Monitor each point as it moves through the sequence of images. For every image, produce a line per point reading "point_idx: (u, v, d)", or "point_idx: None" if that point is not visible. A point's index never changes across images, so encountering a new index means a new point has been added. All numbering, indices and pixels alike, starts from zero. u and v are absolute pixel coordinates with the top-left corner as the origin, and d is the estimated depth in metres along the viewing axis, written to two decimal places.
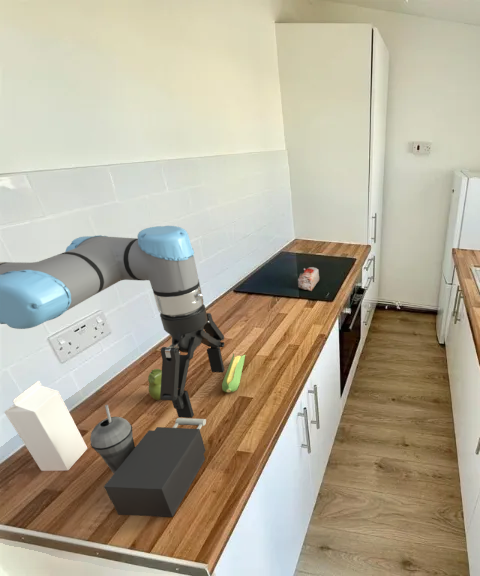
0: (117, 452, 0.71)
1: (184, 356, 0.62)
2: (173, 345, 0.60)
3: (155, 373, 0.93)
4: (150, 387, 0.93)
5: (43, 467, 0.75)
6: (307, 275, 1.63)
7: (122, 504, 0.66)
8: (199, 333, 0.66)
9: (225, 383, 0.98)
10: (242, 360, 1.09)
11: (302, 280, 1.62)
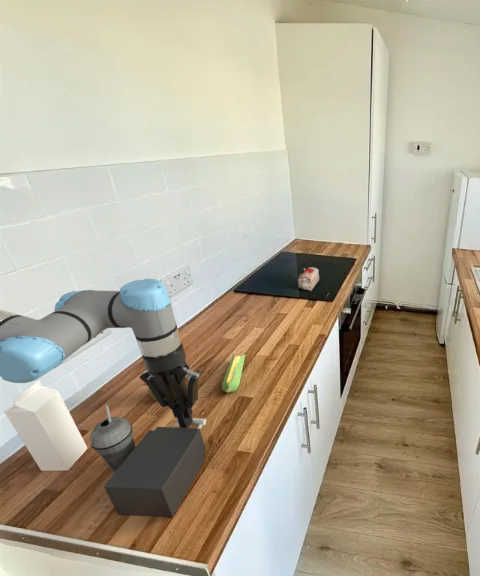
0: (117, 452, 0.71)
1: (183, 380, 0.76)
2: (192, 372, 0.74)
3: None
4: None
5: (43, 467, 0.75)
6: (307, 275, 1.63)
7: (122, 504, 0.66)
8: None
9: (225, 383, 0.98)
10: (242, 360, 1.09)
11: (302, 280, 1.62)
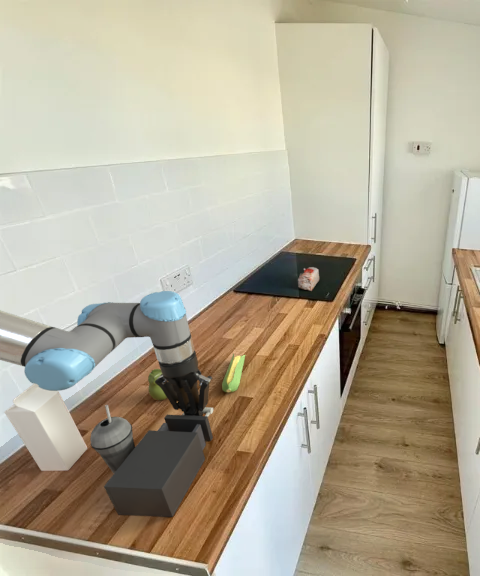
0: (117, 452, 0.71)
1: (195, 385, 0.81)
2: (204, 377, 0.79)
3: (155, 373, 0.93)
4: (150, 387, 0.93)
5: (43, 467, 0.75)
6: (307, 275, 1.63)
7: (122, 504, 0.66)
8: None
9: (225, 383, 0.98)
10: (242, 360, 1.09)
11: (302, 280, 1.62)
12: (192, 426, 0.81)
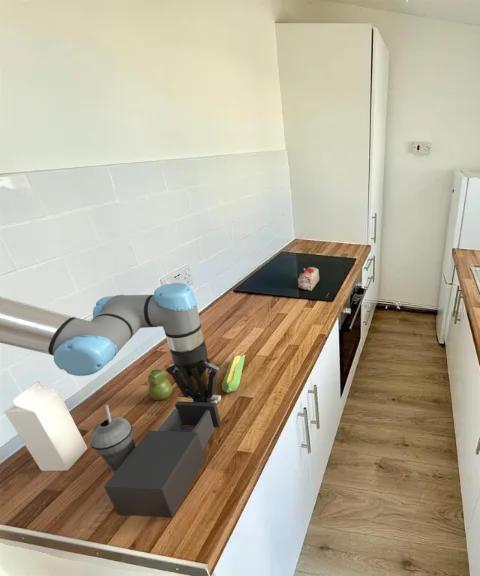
0: (117, 452, 0.71)
1: (204, 373, 0.85)
2: (213, 365, 0.83)
3: (155, 373, 0.93)
4: (150, 387, 0.93)
5: (43, 467, 0.75)
6: (307, 275, 1.63)
7: (122, 504, 0.66)
8: None
9: (225, 383, 0.98)
10: (242, 360, 1.09)
11: (302, 280, 1.62)
12: (202, 413, 0.85)
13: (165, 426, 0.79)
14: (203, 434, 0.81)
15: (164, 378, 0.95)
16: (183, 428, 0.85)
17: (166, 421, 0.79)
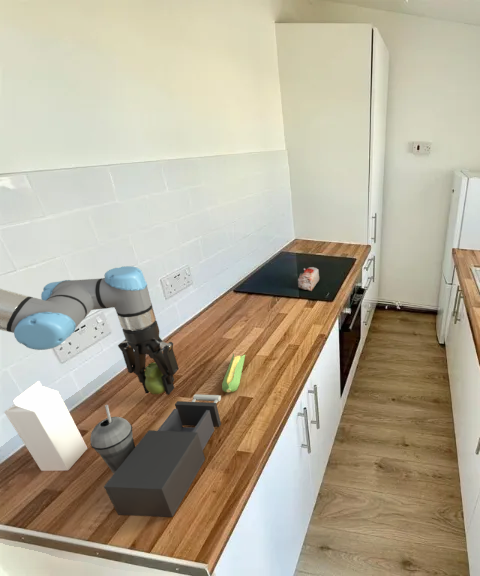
0: (117, 452, 0.71)
1: (160, 351, 0.91)
2: (164, 343, 0.89)
3: (151, 367, 0.91)
4: (147, 381, 0.91)
5: (43, 467, 0.75)
6: (307, 275, 1.63)
7: (122, 504, 0.66)
8: None
9: (225, 383, 0.98)
10: (242, 360, 1.09)
11: (302, 280, 1.62)
12: (202, 412, 0.85)
13: (165, 426, 0.79)
14: (203, 434, 0.81)
15: (161, 372, 0.93)
16: (183, 428, 0.85)
17: (166, 421, 0.79)
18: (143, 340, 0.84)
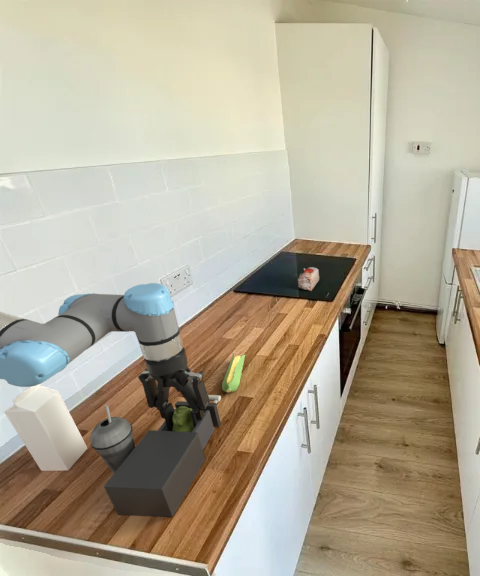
0: (117, 452, 0.71)
1: (188, 383, 0.76)
2: (194, 373, 0.74)
3: (180, 412, 0.78)
4: (175, 428, 0.78)
5: (43, 467, 0.75)
6: (307, 275, 1.63)
7: (122, 504, 0.66)
8: None
9: (225, 383, 0.98)
10: (242, 360, 1.09)
11: (302, 280, 1.62)
12: None
13: (165, 426, 0.79)
14: (203, 434, 0.81)
15: None
16: None
17: None
18: (169, 372, 0.70)
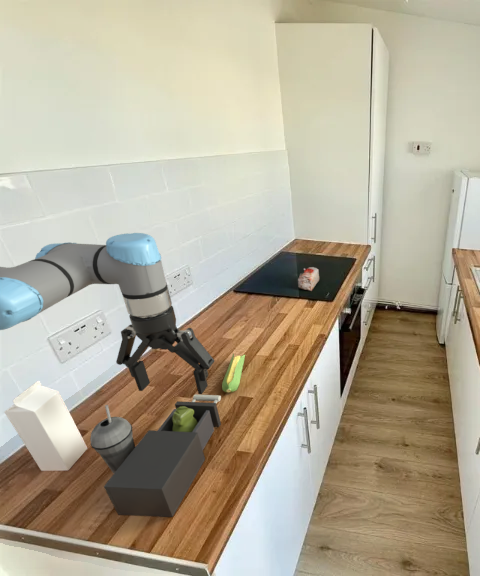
0: (117, 452, 0.71)
1: (180, 342, 0.71)
2: (181, 331, 0.69)
3: (180, 412, 0.78)
4: (175, 428, 0.78)
5: (43, 467, 0.75)
6: (307, 275, 1.63)
7: (122, 504, 0.66)
8: None
9: (225, 383, 0.98)
10: (242, 360, 1.09)
11: (302, 280, 1.62)
12: (202, 413, 0.85)
13: (165, 426, 0.79)
14: (203, 434, 0.81)
15: (191, 417, 0.80)
16: None
17: (166, 421, 0.79)
18: (156, 330, 0.65)
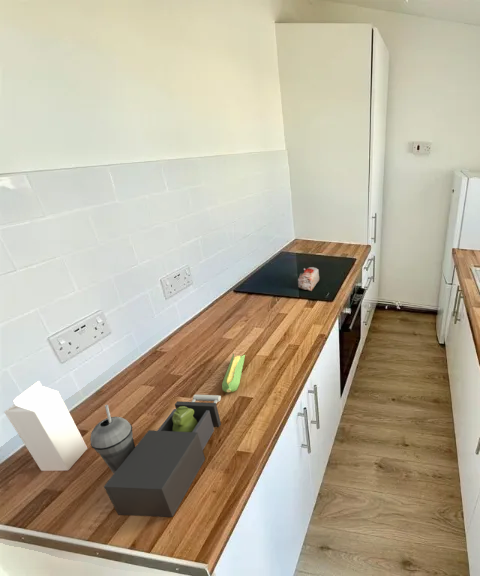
0: (117, 452, 0.71)
1: None
2: None
3: (180, 412, 0.78)
4: (175, 428, 0.78)
5: (43, 467, 0.75)
6: (307, 275, 1.63)
7: (122, 504, 0.66)
8: None
9: (225, 383, 0.98)
10: (242, 360, 1.09)
11: (302, 280, 1.62)
12: (202, 413, 0.85)
13: (165, 426, 0.79)
14: (203, 434, 0.81)
15: (191, 417, 0.80)
16: None
17: (166, 421, 0.79)
18: None
